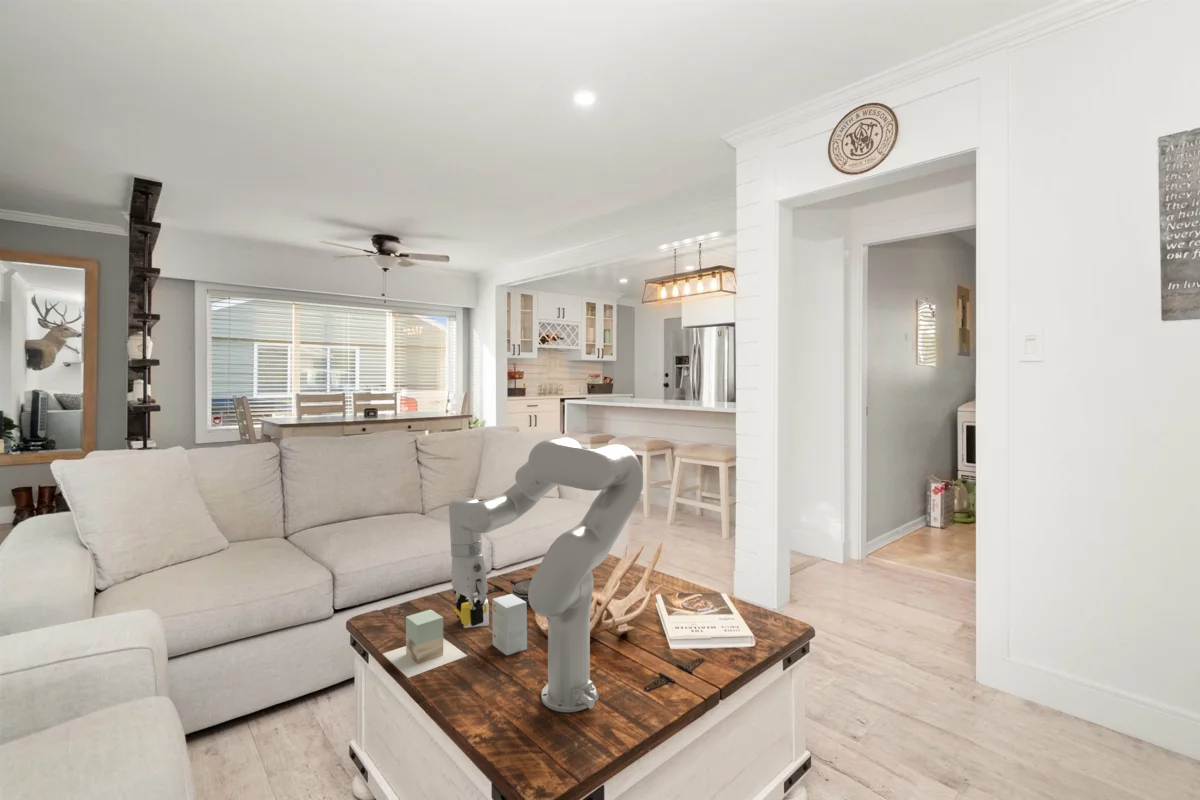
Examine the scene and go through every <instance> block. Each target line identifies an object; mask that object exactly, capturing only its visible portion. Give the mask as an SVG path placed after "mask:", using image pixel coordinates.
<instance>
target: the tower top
mask: <svg viewBox="0 0 1200 800" xmlns="http://www.w3.org/2000/svg"><path fill="white" fill-rule="evenodd" d="M406 636H407V637H408V638H410V639H411V640H412V641H413V642H415V643H416V644H417V645H419V644H422V643H425V642H428V641H431V640H434V639H437V638H440V637H443V638H444V617H443V616H441V615H440V614H438V613H437V612H435V610H432V609H427V610H424V611H419V612H417V613H413V614H410V615H407V616H405V637H406Z"/></svg>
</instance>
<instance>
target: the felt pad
mask: <svg viewBox="0 0 1200 800" xmlns="http://www.w3.org/2000/svg"><path fill="white" fill-rule="evenodd" d="M382 655H383V656H384V657H385V658H386V659H387V661H389V662H390V663H391V664H392V665H394V666H395V668H397V669H398V670H399V671H400V672H401V673H402V675H404V676H405V677H406V678H408V679H409V678H411V677H414V676H417V675H419V674H423V673H425V672H428V671H431V670H434V669H436V668H439V667H441V666H444V665H446V664H447V665H448V664H449V663H451V662H455V661H457V660H461V659H463V658H466V657H468V655H467V654H466V653H464V652H463V651H462V650H460V648H457V647H456V645H453V644H452V643H451V642H450V641H448V640H447V639H445V637H443V655H442V656H440V657H437V658H434V659H431V660H428V661H426V662H423V663H420V664H417V663H416V662H415V661H413V660H412V659H411V658H410V657H409V656H408V655H407V654H406V645H405V646H402V647H398V648H395V649H393V650H389V651H386V652H384V653H382Z"/></svg>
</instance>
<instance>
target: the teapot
mask: <svg viewBox="0 0 1200 800" xmlns="http://www.w3.org/2000/svg"><path fill="white" fill-rule="evenodd" d="M474 602H476V601H474ZM470 609H472V607H471V603H470V601H469V602H465V603H461V612H460V611H459V610H458V609H457V608H456V607H454V608H453V611H454V612H455V613H456V616H457V615H458V616H459V617H460V618H459V619H460V622H461V624H462V625H463V624H465V626H467V625H469V623H471V618H470ZM486 612H487V609H486V603H484V609H483V614H484V613H486Z"/></svg>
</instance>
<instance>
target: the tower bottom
mask: <svg viewBox="0 0 1200 800" xmlns="http://www.w3.org/2000/svg"><path fill="white" fill-rule="evenodd" d="M443 638H444V636H443V637H440V638H437V639H434V640H431V641H428V642H425V643H422V644H419V645H417V644H416V643H415V642H413V641H412V640H411V639H410V638H408V637H407V636H406V635H405V646H406V654H407V655H408V656H409V657H410V658H411V659H412V660H413V661H415V662H416V663H417V664H420V663H423V662H426V661H428V660H431V659H434V658H437V657H440V656H442V655H443Z"/></svg>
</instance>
